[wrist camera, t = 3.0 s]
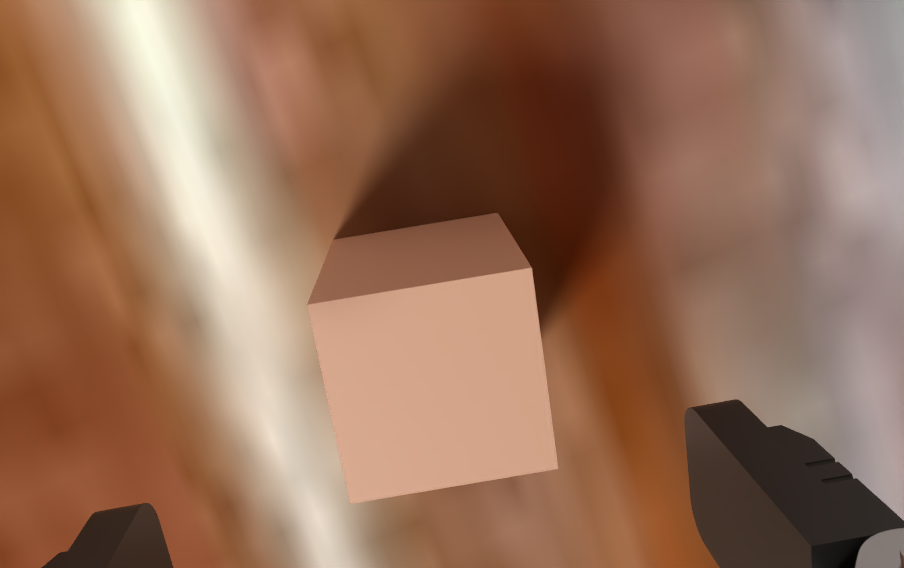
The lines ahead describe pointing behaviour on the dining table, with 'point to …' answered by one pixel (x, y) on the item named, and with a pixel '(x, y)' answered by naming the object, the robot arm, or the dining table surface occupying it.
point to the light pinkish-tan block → (432, 358)
